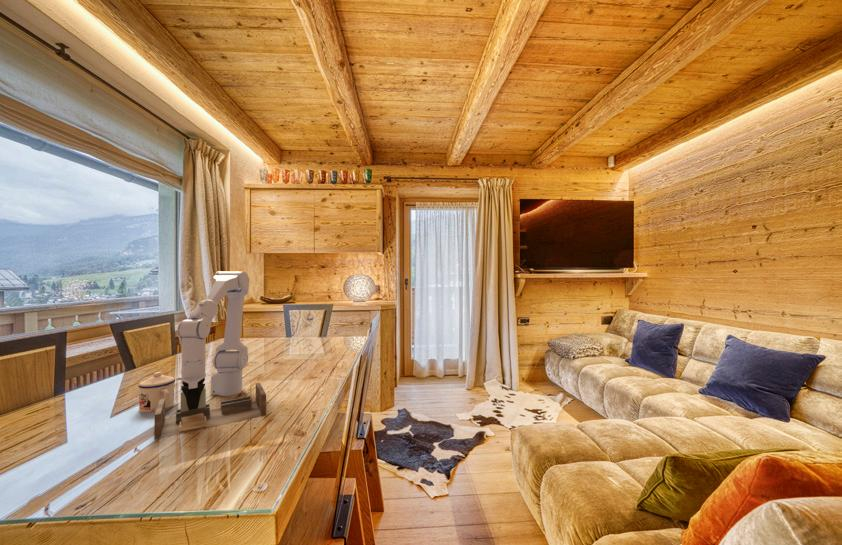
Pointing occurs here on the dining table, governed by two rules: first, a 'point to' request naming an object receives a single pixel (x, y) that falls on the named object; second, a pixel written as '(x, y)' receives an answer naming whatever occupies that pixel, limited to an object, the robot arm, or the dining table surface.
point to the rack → (211, 414)
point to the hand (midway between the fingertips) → (193, 406)
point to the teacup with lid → (156, 392)
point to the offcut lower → (192, 426)
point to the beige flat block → (201, 403)
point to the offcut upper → (192, 419)
